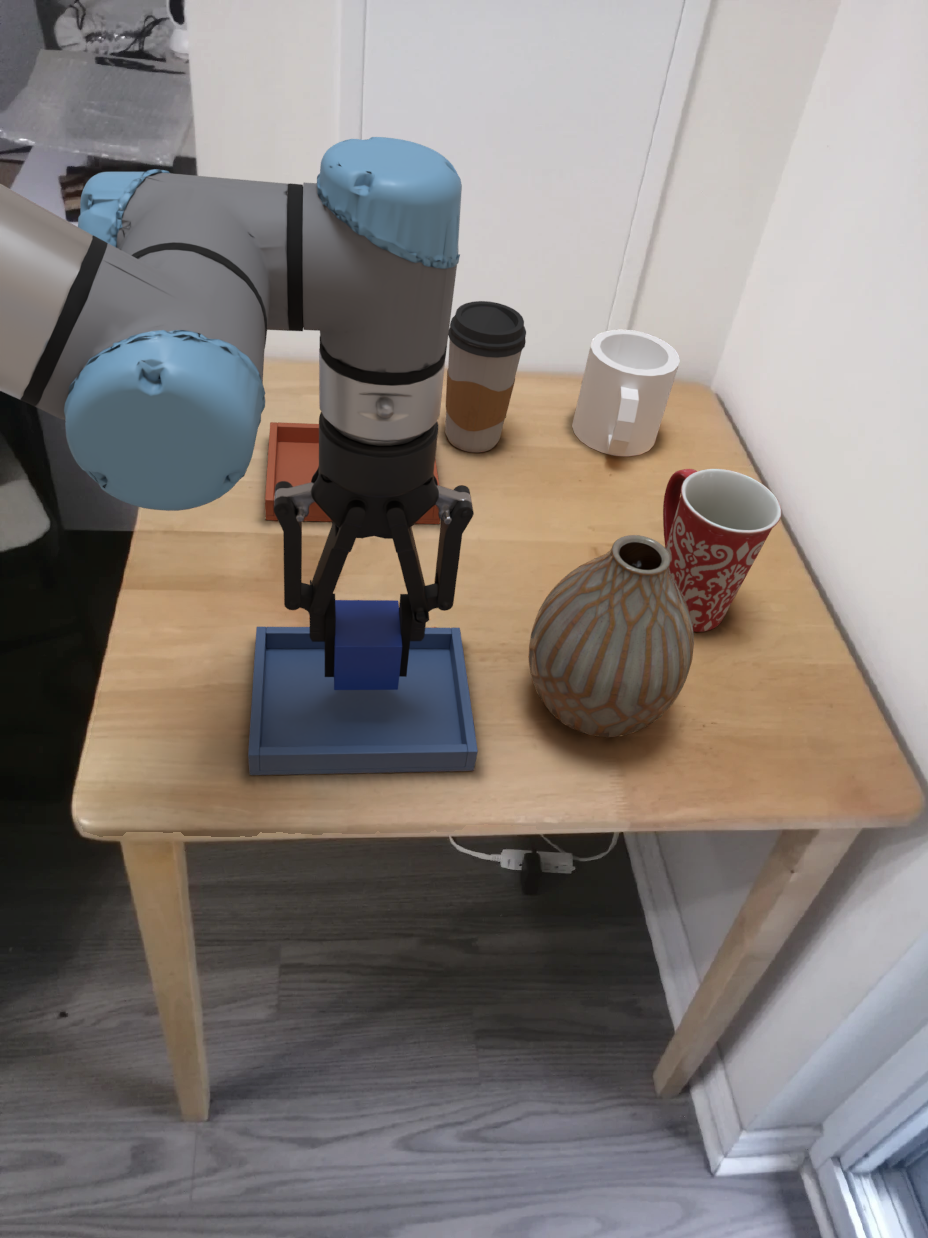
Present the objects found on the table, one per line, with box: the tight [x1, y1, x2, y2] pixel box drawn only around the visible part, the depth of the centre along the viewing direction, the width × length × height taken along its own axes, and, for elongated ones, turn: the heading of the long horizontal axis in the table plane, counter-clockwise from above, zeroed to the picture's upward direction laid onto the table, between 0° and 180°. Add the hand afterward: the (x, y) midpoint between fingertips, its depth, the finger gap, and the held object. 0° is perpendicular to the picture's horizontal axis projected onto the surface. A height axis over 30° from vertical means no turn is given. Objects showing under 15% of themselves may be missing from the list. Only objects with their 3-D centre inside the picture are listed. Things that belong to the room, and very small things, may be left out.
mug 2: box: [662, 468, 782, 633], centre depth 89 cm, size 13×9×14 cm
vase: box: [528, 534, 695, 738], centre depth 76 cm, size 13×13×18 cm
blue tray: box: [247, 626, 479, 776], centre depth 78 cm, size 18×14×3 cm
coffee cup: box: [444, 300, 527, 453], centre depth 103 cm, size 8×8×15 cm
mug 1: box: [571, 328, 680, 457], centre depth 108 cm, size 14×10×11 cm
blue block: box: [334, 599, 402, 690], centre depth 73 cm, size 5×5×5 cm
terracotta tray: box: [264, 421, 441, 525], centre depth 99 cm, size 18×14×3 cm
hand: (365, 663), depth 75 cm, fingers closed on blue block, 5 cm apart
